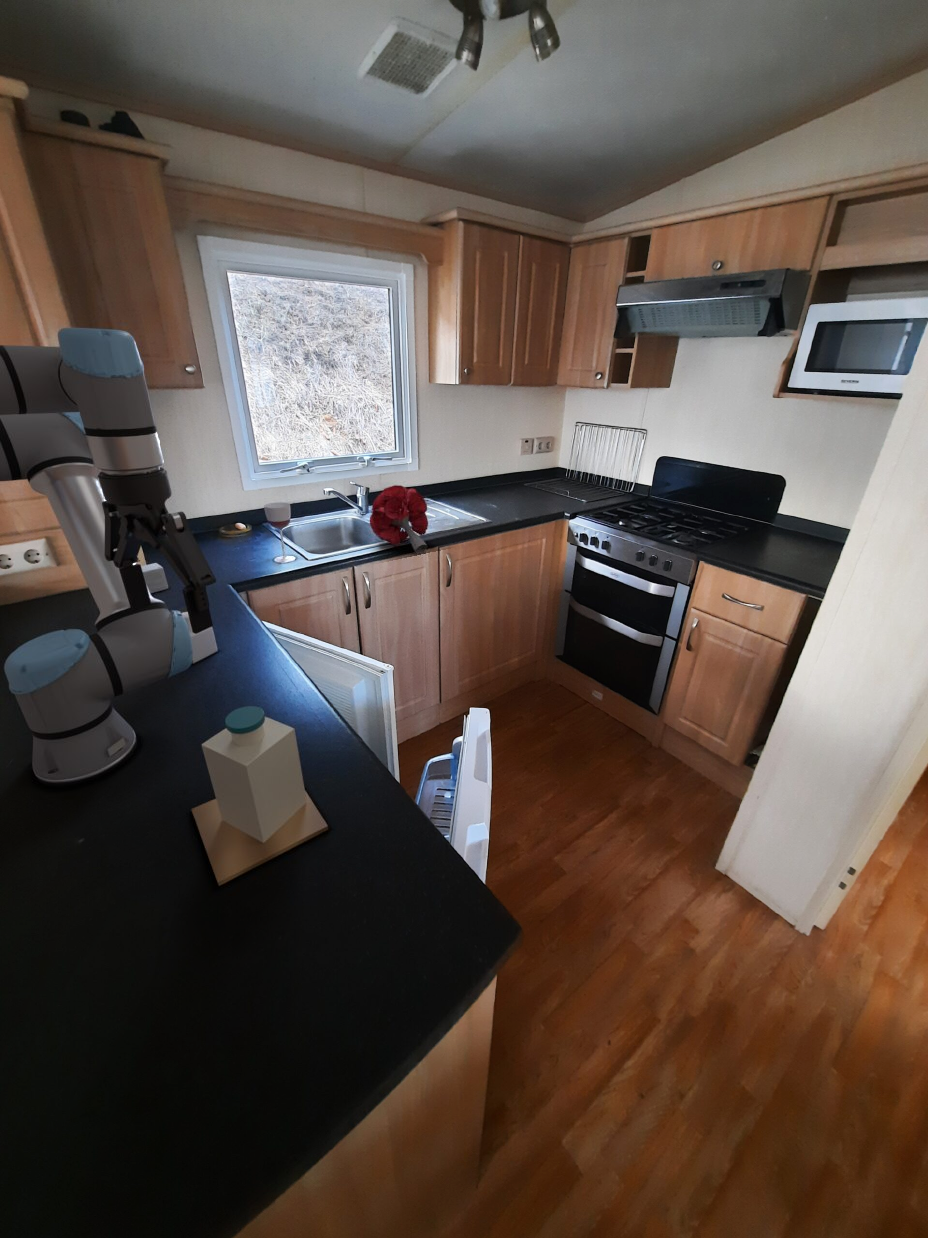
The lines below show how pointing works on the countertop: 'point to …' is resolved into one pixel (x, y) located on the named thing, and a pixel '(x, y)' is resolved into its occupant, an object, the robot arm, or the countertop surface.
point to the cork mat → (251, 839)
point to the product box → (154, 577)
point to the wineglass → (279, 523)
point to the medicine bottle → (200, 639)
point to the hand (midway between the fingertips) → (171, 618)
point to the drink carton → (255, 772)
